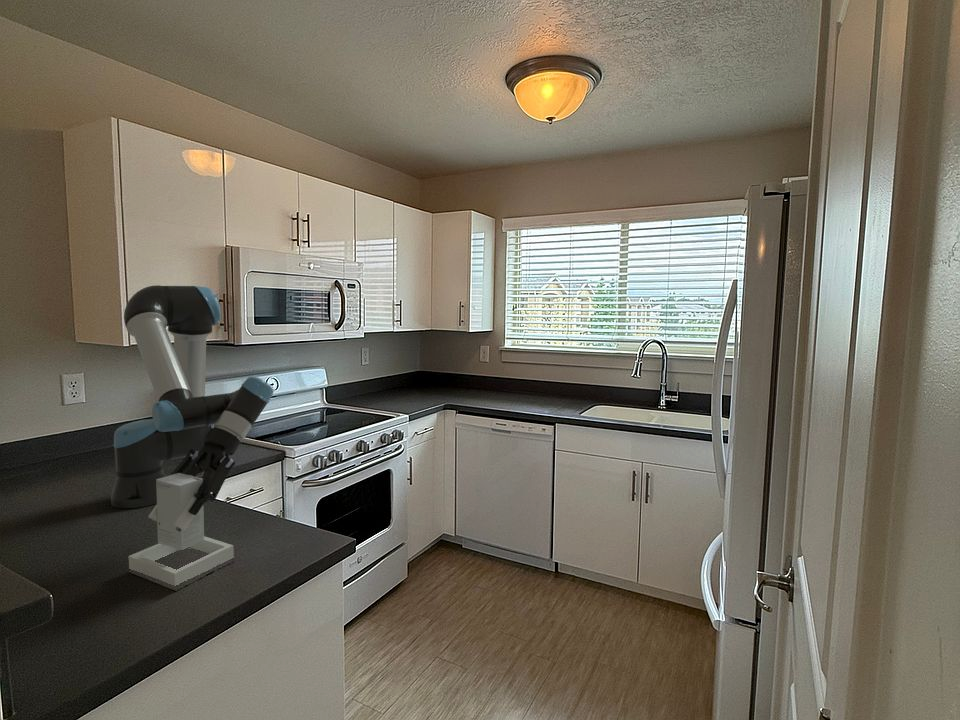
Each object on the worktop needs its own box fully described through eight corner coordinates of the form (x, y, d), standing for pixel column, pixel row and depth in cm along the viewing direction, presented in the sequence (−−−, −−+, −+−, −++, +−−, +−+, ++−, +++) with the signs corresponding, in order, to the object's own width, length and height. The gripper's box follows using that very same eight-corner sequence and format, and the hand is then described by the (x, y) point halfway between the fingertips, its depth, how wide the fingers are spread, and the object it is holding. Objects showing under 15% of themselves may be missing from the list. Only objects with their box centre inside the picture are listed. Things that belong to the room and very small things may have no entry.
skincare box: (157, 544, 116) (152, 479, 114) (182, 533, 121) (178, 471, 120) (182, 551, 113) (178, 485, 111) (207, 540, 118) (203, 476, 116)
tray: (129, 573, 115) (128, 556, 115) (189, 546, 128) (188, 531, 127) (175, 591, 108) (174, 573, 108) (234, 561, 121) (233, 545, 120)
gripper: (267, 448, 124) (210, 540, 111) (208, 437, 133) (149, 521, 121) (247, 431, 118) (184, 526, 106) (188, 421, 128) (123, 507, 115)
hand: (166, 523), depth 113 cm, fingers closed on skincare box, 8 cm apart
